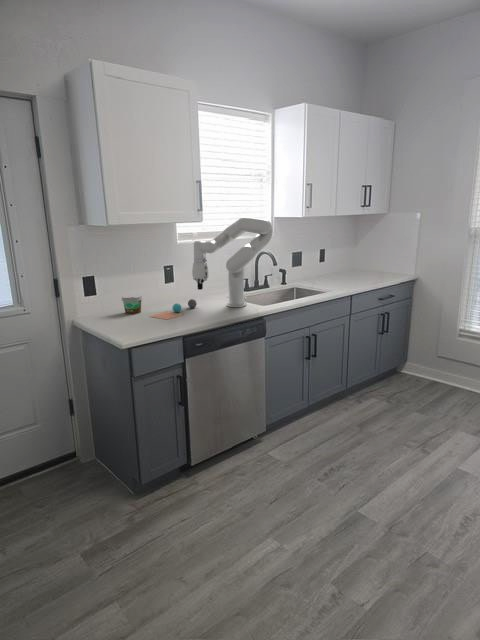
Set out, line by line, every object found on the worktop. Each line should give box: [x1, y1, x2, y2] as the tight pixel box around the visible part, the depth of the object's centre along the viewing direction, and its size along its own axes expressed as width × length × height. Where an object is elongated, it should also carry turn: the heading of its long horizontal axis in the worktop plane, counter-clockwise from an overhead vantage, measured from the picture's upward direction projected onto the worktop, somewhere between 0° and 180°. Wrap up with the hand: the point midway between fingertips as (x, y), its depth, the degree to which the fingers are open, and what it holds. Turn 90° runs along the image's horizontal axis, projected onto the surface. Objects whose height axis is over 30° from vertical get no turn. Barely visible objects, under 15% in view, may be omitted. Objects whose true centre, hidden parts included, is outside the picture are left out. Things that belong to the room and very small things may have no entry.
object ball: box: [171, 303, 182, 313], centre depth 261 cm, size 6×6×6 cm
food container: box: [121, 296, 143, 315], centre depth 260 cm, size 12×6×10 cm, turn 92°
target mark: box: [149, 311, 184, 320], centre depth 254 cm, size 14×14×1 cm
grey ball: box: [187, 299, 197, 309], centre depth 272 cm, size 6×6×6 cm
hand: (200, 289), depth 277 cm, fingers closed
